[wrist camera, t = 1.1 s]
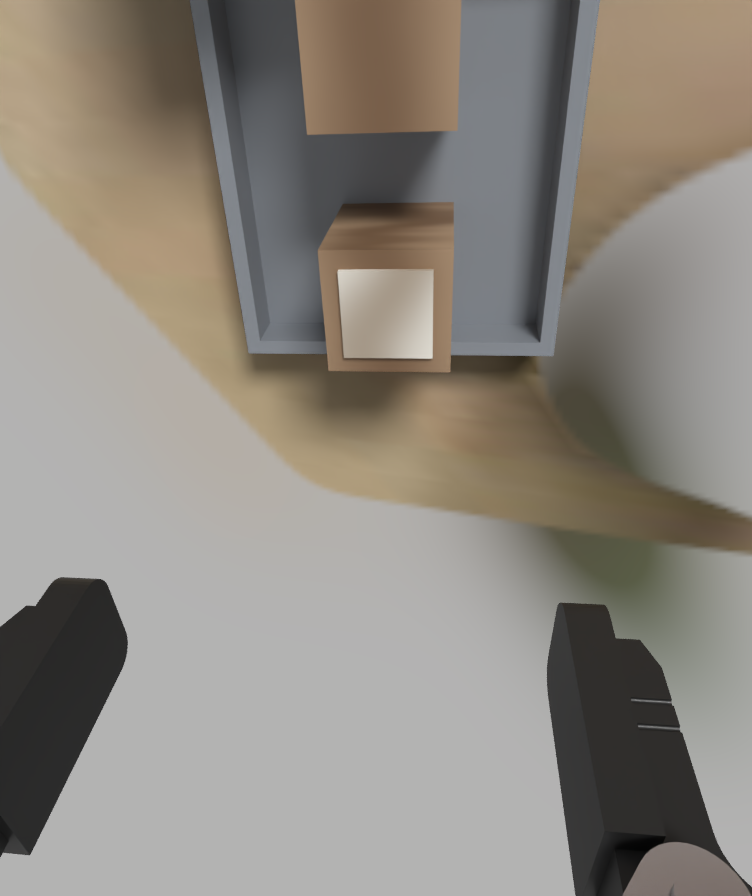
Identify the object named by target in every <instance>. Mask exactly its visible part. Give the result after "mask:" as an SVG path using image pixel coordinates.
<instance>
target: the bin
mask: <svg viewBox="0 0 752 896" xmlns="http://www.w3.org/2000/svg"><path fill="white" fill-rule="evenodd" d="M599 3H600V0H461V31H460V64H459V97H458V131H430V132H393V133H355V134H318V135H307V128H306V117H305V106H304V95H303V84H302V73H301V62H300V51H299V40H298V29H297V18H296V7H295V0H190V5H191V11H192V17H193V23H194V29H195V35H196V41H197V47H198V53H199V59H200V65H201V71H202V77H203V83H204V89H205V95H206V101H207V107H208V113H209V119H210V125H211V131H212V137H213V143H214V149H215V155H216V161H217V167H218V173H219V179H220V185H221V191H222V197H223V202H224V208H225V214H226V220H227V226H228V232H229V238H230V244H231V250H232V256H233V262H234V268H235V274H236V280H237V286H238V292H239V298H240V304H241V310H242V316H243V322H244V328H245V334H246V340H247V346H248V352H249V353H262V354H327V348H326V337H325V326H324V315H323V304H322V293H321V282H320V271H319V260H318V249H319V247H320V245H321V243H322V241H323V240H324V238H325V236H326V234H327V232H328V230H329V228H330V227H331V225H332V223H333V221H334V219H335V217H336V215H337V214H338V212H339V210H340V208H341V206H342V204H361V203H425V202H454V264H453V297H452V331H451V355H495V356H553V354H554V347H555V339H556V332H557V324H558V316H559V309H560V301H561V294H562V286H563V278H564V271H565V263H566V255H567V248H568V240H569V232H570V225H571V217H572V209H573V202H574V194H575V186H576V179H577V171H578V163H579V156H580V148H581V140H582V133H583V125H584V117H585V110H586V102H587V94H588V87H589V79H590V72H591V64H592V56H593V49H594V41H595V33H596V26H597V18H598V10H599Z"/></svg>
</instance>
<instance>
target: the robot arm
mask: <svg viewBox="0 0 752 896" xmlns="http://www.w3.org/2000/svg"><path fill="white" fill-rule="evenodd" d="M127 645H128V641H127V634H126V631H125V628H124V626H123V624H122V621H121V618H120V616H119V613H118V611H117V608H116V606H115V603H114V600H113V598H112V595H111V593H110V590H109V588H108V585H107V584H106V582H105V581H103V580H101V579H85V578H64V577H61V578H58V579H56V580H55V581H54V582H53V583H51V585H50V586H49V587H48V589H47V590H46V592H45V593H44V595H43V596H42V598H41V599H40V600H39V602H38V603H37V605H36V606H25V607H24V608H23V609H22V610H21V611H19V612H18V613H17V614H16V615H14V616H13V617H12V618H11V619H9V620H8V621H7V622H6V623H5V624H3V625H2V626H1V627H0V857H1V855H2V853H13V854H23V855H30V854H31V852H32V850H33V848H34V846H35V844H36V842H37V839H38V838H39V836H40V834H41V832H42V830H43V828H44V826H45V824H46V822H47V820H48V818H49V816H50V814H51V812H52V810H53V808H54V806H55V804H56V802H57V800H58V797H59V795H60V793H61V791H62V789H63V787H64V785H65V783H66V781H67V779H68V777H69V775H70V773H71V771H72V769H73V767H74V765H75V763H76V761H77V759H78V757H79V755H80V753H81V751H82V749H83V747H84V745H85V743H86V741H87V739H88V737H89V735H90V733H91V731H92V728H93V727H94V725H95V723H96V720H97V719H98V716H99V714H100V712H101V710H102V708H103V706H104V704H105V702H106V700H107V698H108V696H109V694H110V692H111V690H112V688H113V686H114V684H115V682H116V680H117V678H118V676H119V674H120V672H121V670H122V668H123V665H124V662H125V659H126V654H127ZM547 687H548V698H549V706H550V713H551V720H552V727H553V735H554V742H555V749H556V757H557V764H558V771H559V778H560V785H561V793H562V800H563V807H564V815H565V821H566V829H567V837H568V844H569V851H570V858H571V865H572V873H573V880H574V888H575V895H576V896H752V887H751V886H750V885H749V884H747V882H745V881H744V879H742V878H741V877H740V876H739V874H738V873H737V872H736V871H735V870H734V868H733V867H732V866H731V865H730V863H729V862H728V860H727V859H726V857H725V856H724V855H723V853H722V851H721V849H720V847H719V845H718V843H717V841H716V838H715V836H714V833H713V830H712V827H711V824H710V820H709V817H708V814H707V811H706V808H705V804H704V802H703V798H702V795H701V792H700V788H699V785H698V782H697V779H696V776H695V773H694V769H693V766H692V763H691V760H690V756H689V753H688V750H687V747H686V744H685V740H684V737H683V734H682V733H681V732H680V725H679V721H678V718H677V715H676V712H675V709H674V706H672V703H671V700H672V699H671V696H670V693H669V690H668V686H667V683H666V680H665V677H664V673H663V670H662V668H661V666H660V665H659V664H658V662H657V661H656V660H655V659H654V657H653V656H652V655H651V653H649V651H648V650H647V648H646V647H645V646H644V645H643V643H642V642H641V641H640V640H633V639H616V638H615V634H614V630H613V626H612V622H611V619H610V615H609V611H608V609H607V607H606V606H605V605H596V604H576V603H559V604H558V607H557V611H556V617H555V622H554V628H553V633H552V640H551V645H550V650H549V656H548V665H547Z"/></svg>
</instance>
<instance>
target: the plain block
mask: <svg viewBox="0 0 752 896" xmlns="http://www.w3.org/2000/svg"><path fill="white" fill-rule="evenodd" d="M295 7H296V18H297V29H298V40H299V51H300V62H301V73H302V84H303V95H304V106H305V117H306V128H307V135H318V134H355V133H393V132H430V131H458V97H459V64H460V31H461V0H295Z"/></svg>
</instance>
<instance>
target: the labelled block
mask: <svg viewBox="0 0 752 896" xmlns="http://www.w3.org/2000/svg"><path fill="white" fill-rule="evenodd" d="M318 260H319V271H320V282H321V293H322V304H323V315H324V326H325V337H326V348H327V359H328V370H329V371H374V372H450V364H451V331H452V297H453V264H454V202H425V203H361V204H342V206H341V208H340V210H339V212H338V214H337V215H336V217H335V219H334V221H333V223H332V225H331V227H330V228H329V230H328V232H327V234H326V236H325V238H324V240H323V241H322V243H321V245H320V247H319V249H318Z"/></svg>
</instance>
